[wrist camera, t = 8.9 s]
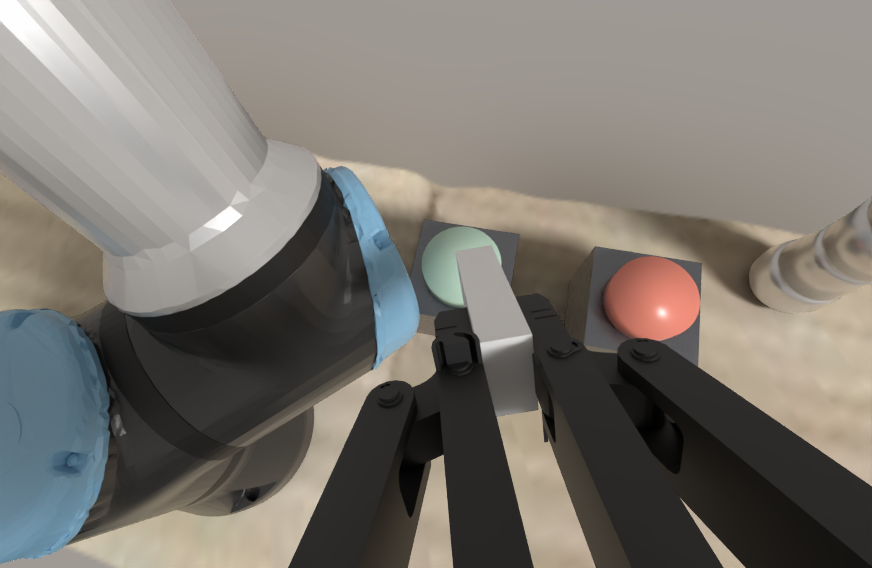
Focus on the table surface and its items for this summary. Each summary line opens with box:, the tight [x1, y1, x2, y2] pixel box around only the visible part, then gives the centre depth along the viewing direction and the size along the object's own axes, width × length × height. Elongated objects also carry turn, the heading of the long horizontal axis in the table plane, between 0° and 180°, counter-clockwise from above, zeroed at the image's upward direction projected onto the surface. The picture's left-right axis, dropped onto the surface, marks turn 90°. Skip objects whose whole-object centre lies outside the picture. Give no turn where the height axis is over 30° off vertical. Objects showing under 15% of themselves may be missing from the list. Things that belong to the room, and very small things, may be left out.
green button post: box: [410, 219, 519, 336], centre depth 38 cm, size 8×8×9 cm
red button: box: [603, 256, 700, 341], centre depth 35 cm, size 6×6×10 cm
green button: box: [422, 226, 501, 308], centre depth 37 cm, size 6×6×10 cm
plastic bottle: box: [749, 197, 872, 313], centre depth 31 cm, size 6×7×20 cm
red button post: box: [564, 246, 702, 367], centre depth 36 cm, size 8×8×9 cm
